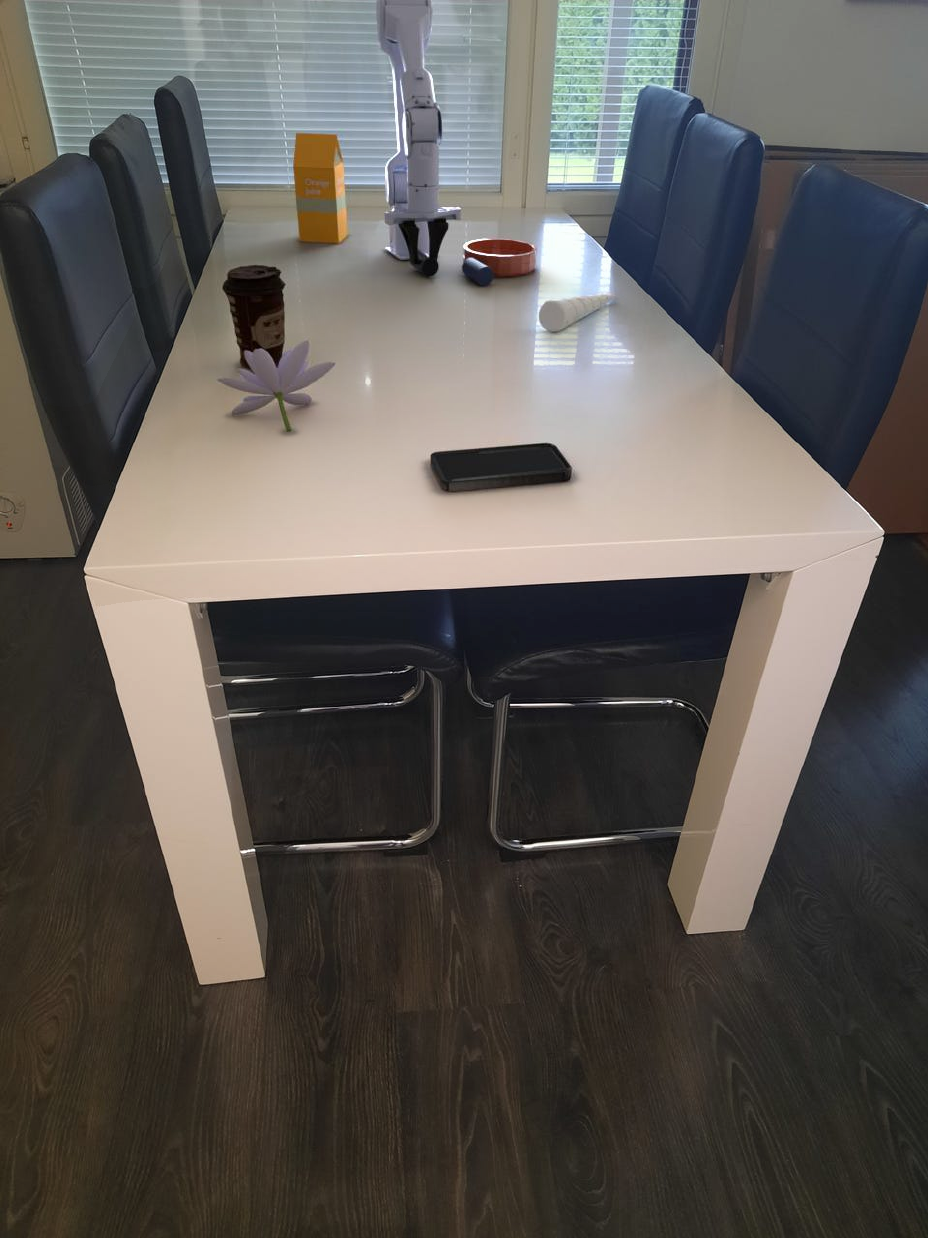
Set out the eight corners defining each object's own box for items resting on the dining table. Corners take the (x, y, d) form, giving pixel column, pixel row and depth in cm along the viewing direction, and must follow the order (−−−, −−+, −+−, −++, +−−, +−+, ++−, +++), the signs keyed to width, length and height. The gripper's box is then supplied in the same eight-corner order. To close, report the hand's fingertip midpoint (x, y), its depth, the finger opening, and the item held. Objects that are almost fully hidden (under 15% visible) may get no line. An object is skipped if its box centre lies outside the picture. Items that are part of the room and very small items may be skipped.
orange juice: (309, 233, 190) (301, 130, 178) (348, 235, 189) (342, 132, 178) (299, 241, 184) (289, 135, 172) (339, 243, 183) (332, 137, 171)
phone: (574, 471, 95) (442, 482, 92) (573, 480, 96) (442, 492, 93) (552, 441, 101) (428, 451, 98) (551, 450, 102) (428, 460, 99)
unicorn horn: (632, 302, 152) (636, 274, 149) (560, 335, 137) (563, 304, 134) (609, 297, 154) (612, 269, 151) (536, 329, 139) (538, 299, 136)
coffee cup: (305, 359, 125) (296, 266, 118) (277, 379, 119) (266, 281, 111) (252, 352, 127) (240, 260, 120) (222, 370, 121) (207, 274, 113)
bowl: (452, 262, 172) (452, 241, 170) (515, 256, 177) (516, 236, 174) (481, 280, 162) (482, 258, 159) (547, 274, 166) (549, 252, 164)
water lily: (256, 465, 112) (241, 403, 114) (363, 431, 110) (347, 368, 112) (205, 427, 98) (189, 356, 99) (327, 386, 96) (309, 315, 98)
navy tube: (461, 258, 161) (478, 256, 162) (462, 277, 164) (478, 274, 165) (476, 268, 156) (493, 265, 157) (477, 287, 158) (493, 284, 159)
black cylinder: (409, 268, 167) (408, 249, 165) (425, 266, 168) (424, 248, 166) (422, 277, 162) (421, 258, 160) (438, 275, 163) (438, 256, 161)
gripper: (392, 190, 151) (395, 270, 159) (468, 185, 155) (466, 264, 163) (379, 182, 156) (382, 261, 164) (452, 178, 161) (452, 255, 169)
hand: (423, 262), depth 164 cm, fingers closed on black cylinder, 3 cm apart
